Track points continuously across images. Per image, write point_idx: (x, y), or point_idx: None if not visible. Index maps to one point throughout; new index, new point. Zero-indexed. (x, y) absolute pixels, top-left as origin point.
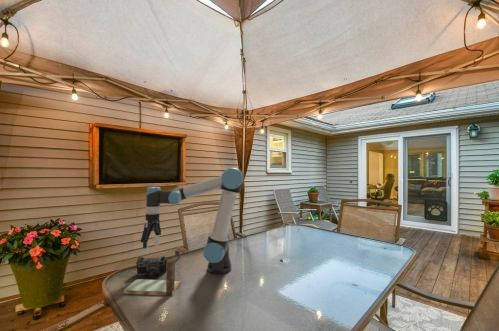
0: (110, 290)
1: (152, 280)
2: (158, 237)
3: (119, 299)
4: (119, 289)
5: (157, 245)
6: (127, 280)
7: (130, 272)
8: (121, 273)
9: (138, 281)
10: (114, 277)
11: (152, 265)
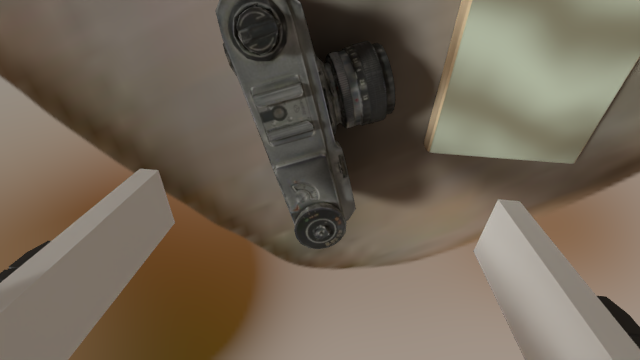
0: None
1: (477, 29)
2: (31, 291)
3: (632, 146)
4: (498, 191)
5: (156, 188)
6: (393, 196)
7: None
8: None
9: (468, 128)
10: (355, 256)
11: (332, 109)
